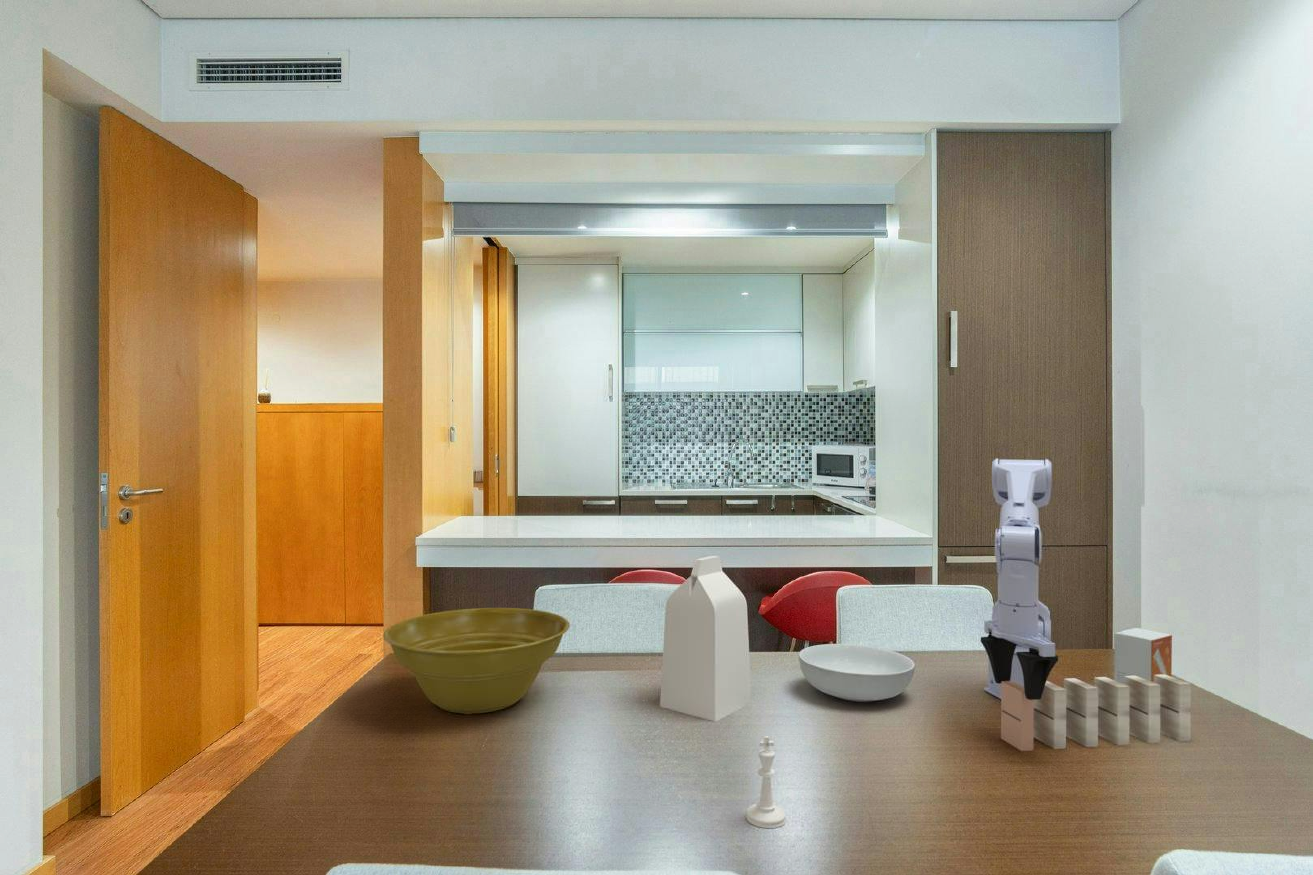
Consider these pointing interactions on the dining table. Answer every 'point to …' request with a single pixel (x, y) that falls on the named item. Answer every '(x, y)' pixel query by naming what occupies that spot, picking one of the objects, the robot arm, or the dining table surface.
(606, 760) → the dining table surface
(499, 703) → the planter bowl
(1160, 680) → the domino
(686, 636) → the milk
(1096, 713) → the domino
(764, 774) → the chess piece
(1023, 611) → the robot arm
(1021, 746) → the head domino
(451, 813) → the dining table surface
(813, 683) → the serving bowl
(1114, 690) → the domino
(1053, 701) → the domino
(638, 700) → the dining table surface
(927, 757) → the dining table surface
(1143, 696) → the domino
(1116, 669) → the small box
